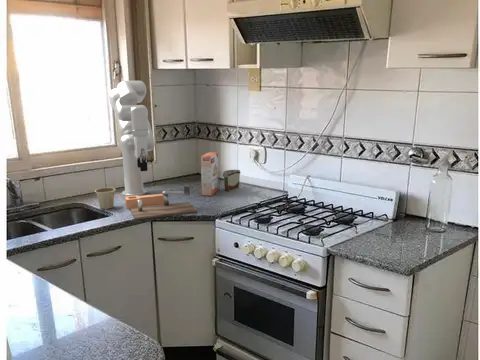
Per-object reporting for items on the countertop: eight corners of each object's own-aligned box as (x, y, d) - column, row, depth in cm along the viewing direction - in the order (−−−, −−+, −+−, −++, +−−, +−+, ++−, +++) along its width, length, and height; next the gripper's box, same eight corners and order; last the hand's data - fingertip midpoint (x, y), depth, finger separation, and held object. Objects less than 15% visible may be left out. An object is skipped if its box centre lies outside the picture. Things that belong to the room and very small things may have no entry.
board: (130, 210, 220) (129, 208, 220) (188, 203, 229) (188, 201, 229) (134, 219, 205) (134, 217, 205) (196, 212, 214) (196, 210, 214)
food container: (231, 186, 264) (231, 168, 262) (240, 187, 261) (240, 169, 258) (218, 190, 254) (217, 172, 252) (227, 192, 251) (226, 173, 249)
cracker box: (212, 196, 243) (211, 156, 238) (201, 195, 244) (200, 156, 239) (219, 189, 256) (218, 151, 251) (208, 189, 257) (207, 151, 253)
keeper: (161, 195, 222) (161, 186, 221) (163, 193, 225) (163, 184, 224) (189, 195, 221) (188, 186, 220) (190, 193, 224) (190, 185, 223)
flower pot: (99, 211, 219) (98, 193, 217) (93, 206, 226) (92, 189, 225) (119, 208, 223) (118, 190, 222) (113, 203, 231) (111, 186, 229)
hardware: (137, 210, 216) (136, 199, 215) (167, 203, 226) (166, 193, 225) (139, 211, 214) (138, 200, 213) (170, 204, 224) (169, 194, 223)
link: (126, 209, 222) (126, 199, 221) (125, 205, 228) (124, 196, 227) (165, 205, 228) (165, 196, 227) (163, 201, 234) (162, 192, 233)
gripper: (129, 131, 226) (132, 166, 230) (134, 135, 210) (137, 173, 214) (145, 130, 229) (147, 165, 233) (151, 134, 213) (153, 171, 217)
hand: (142, 169), depth 223 cm, fingers open, 9 cm apart
